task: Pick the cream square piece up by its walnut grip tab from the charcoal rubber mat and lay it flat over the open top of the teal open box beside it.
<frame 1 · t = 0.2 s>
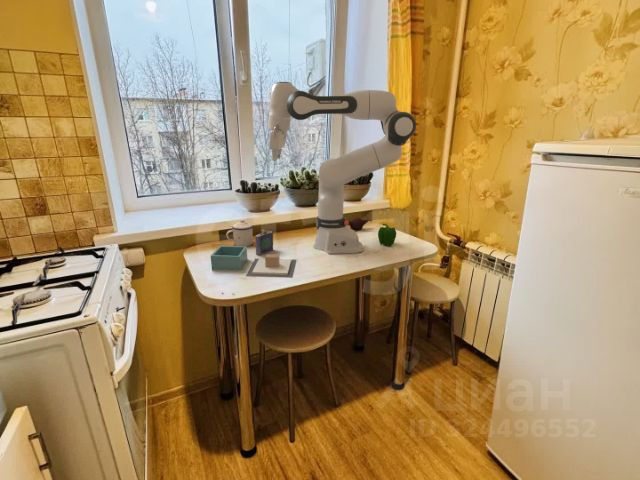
hand: (276, 159, 142), 39 cm above the table, tool pointing down, fingers open, 8 cm apart
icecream: (357, 230, 181), on the table
teal open box: (230, 265, 133), on the table
flask: (264, 253, 146), on the table
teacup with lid: (240, 244, 155), on the table
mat: (272, 268, 130), on the table
bell pepper: (386, 244, 160), on the table
cream square piece: (272, 267, 130), resting on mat
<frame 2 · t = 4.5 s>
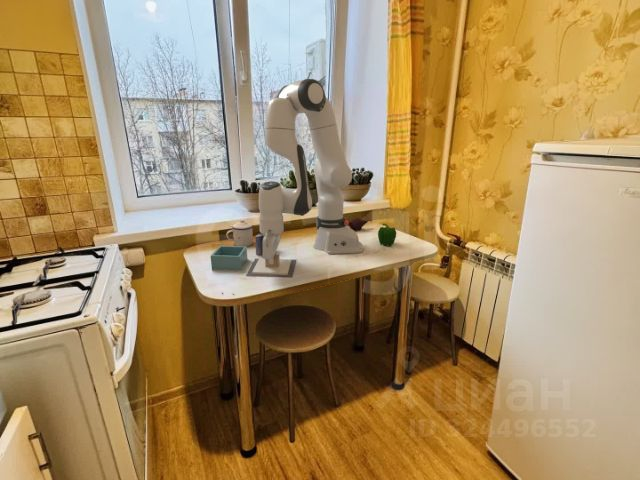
hand: (272, 261, 129), 3 cm above the table, tool pointing down, fingers closed on cream square piece, 3 cm apart
cream square piece: (272, 267, 130), resting on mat, touching gripper
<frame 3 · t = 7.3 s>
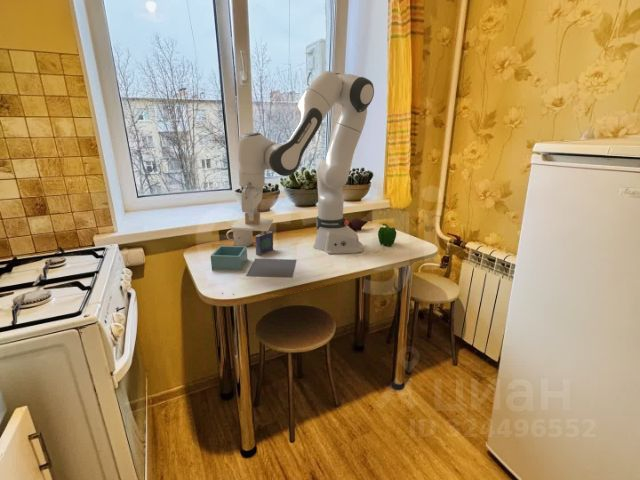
hand: (252, 218, 124), 20 cm above the table, tool pointing down, fingers closed on cream square piece, 3 cm apart
cream square piece: (252, 225, 125), point 17 cm above the table, touching gripper
when the fingers open (10 cm above the table, at t = 10.3 s): cream square piece drops 1 cm, resting on teal open box.
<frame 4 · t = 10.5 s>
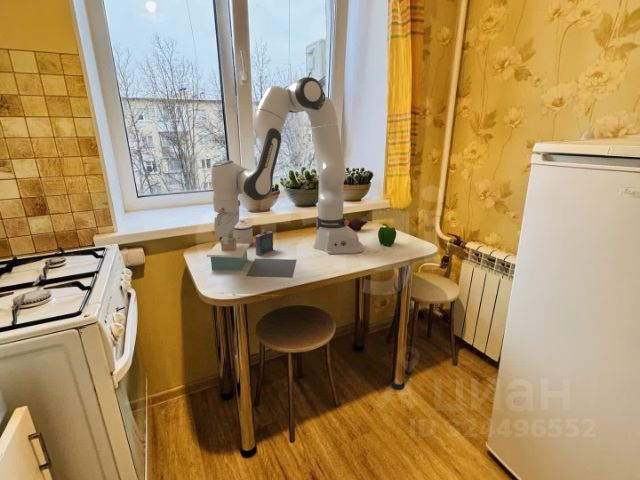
hand: (228, 241, 129), 10 cm above the table, tool pointing down, fingers open, 5 cm apart
cream square piece: (229, 250, 131), point 6 cm above the table, touching teal open box
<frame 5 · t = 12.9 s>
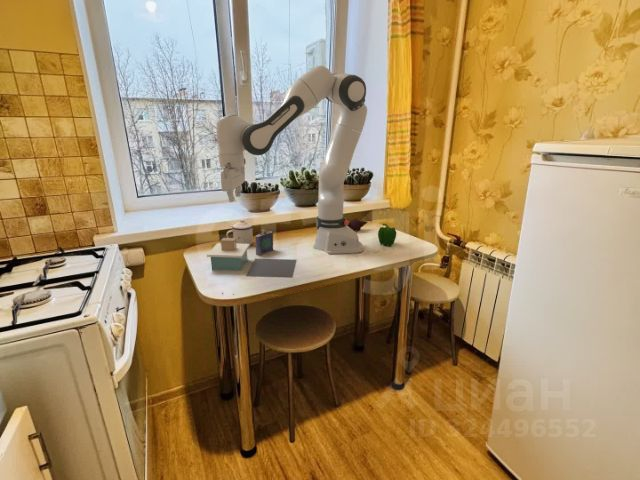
hand: (235, 198, 129), 26 cm above the table, tool pointing down, fingers open, 8 cm apart
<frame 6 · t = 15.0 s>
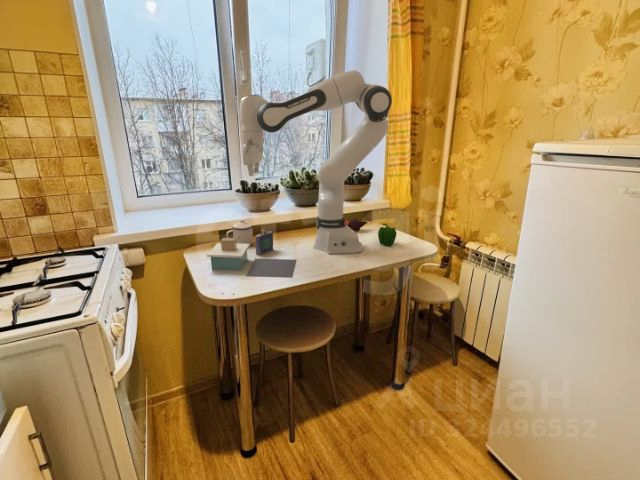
hand: (254, 174, 139), 33 cm above the table, tool pointing down, fingers open, 8 cm apart
at the end: cream square piece 0.1 cm off-centre on the teal open box, point 6.0 cm above the teal open box's base; cream square piece tilted 0°; the gripper is holding nothing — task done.
